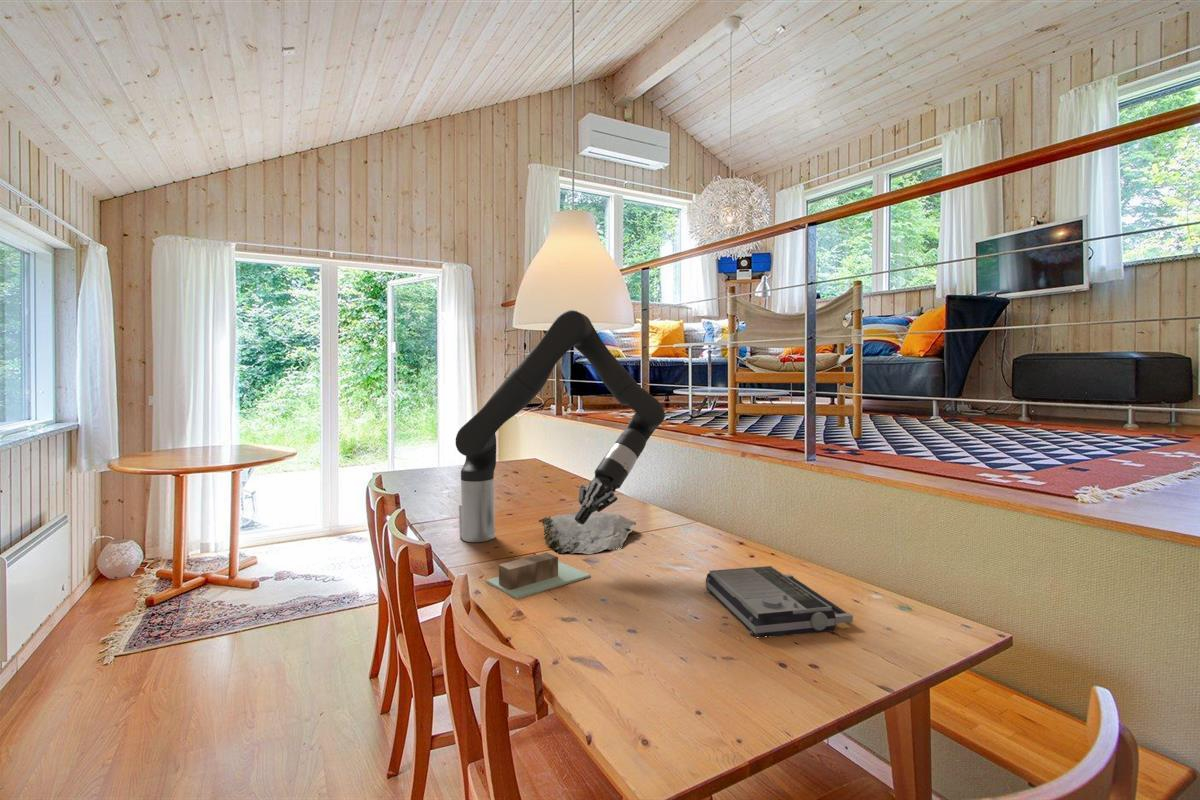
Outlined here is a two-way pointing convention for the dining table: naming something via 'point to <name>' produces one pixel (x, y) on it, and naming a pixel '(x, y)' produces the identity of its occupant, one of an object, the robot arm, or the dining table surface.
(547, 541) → the stone fragment
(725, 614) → the dining table surface
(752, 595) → the radio
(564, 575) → the mat
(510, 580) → the walnut block
